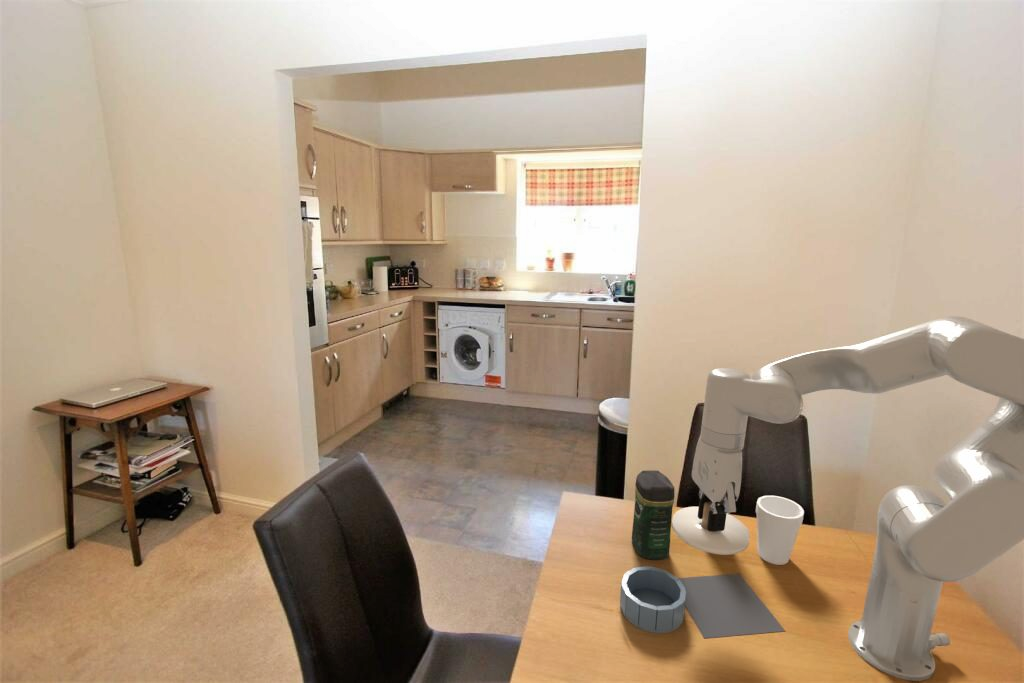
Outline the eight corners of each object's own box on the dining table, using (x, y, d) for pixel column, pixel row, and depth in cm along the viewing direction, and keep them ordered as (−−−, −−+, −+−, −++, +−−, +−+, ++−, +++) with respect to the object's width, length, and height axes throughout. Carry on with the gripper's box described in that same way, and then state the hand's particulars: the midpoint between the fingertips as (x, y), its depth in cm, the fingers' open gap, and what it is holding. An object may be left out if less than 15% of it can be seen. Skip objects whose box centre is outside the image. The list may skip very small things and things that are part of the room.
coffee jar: (673, 561, 116) (680, 487, 112) (639, 562, 116) (644, 488, 111) (659, 535, 125) (665, 466, 121) (627, 536, 125) (632, 467, 121)
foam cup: (802, 573, 112) (810, 520, 109) (757, 568, 114) (764, 516, 111) (787, 546, 121) (794, 497, 118) (745, 542, 123) (752, 493, 120)
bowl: (668, 587, 108) (670, 564, 106) (694, 631, 96) (696, 607, 95) (613, 591, 106) (614, 568, 105) (632, 637, 95) (634, 612, 94)
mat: (739, 575, 112) (739, 573, 111) (785, 632, 96) (785, 630, 96) (669, 580, 110) (669, 578, 110) (704, 639, 94) (704, 638, 94)
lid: (725, 509, 106) (729, 485, 105) (764, 553, 93) (769, 526, 91) (660, 511, 105) (663, 487, 103) (690, 556, 91) (694, 529, 90)
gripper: (683, 418, 101) (674, 501, 106) (725, 456, 86) (711, 552, 90) (720, 418, 102) (709, 500, 107) (767, 455, 86) (752, 550, 91)
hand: (710, 523), depth 98 cm, fingers closed on lid, 3 cm apart
